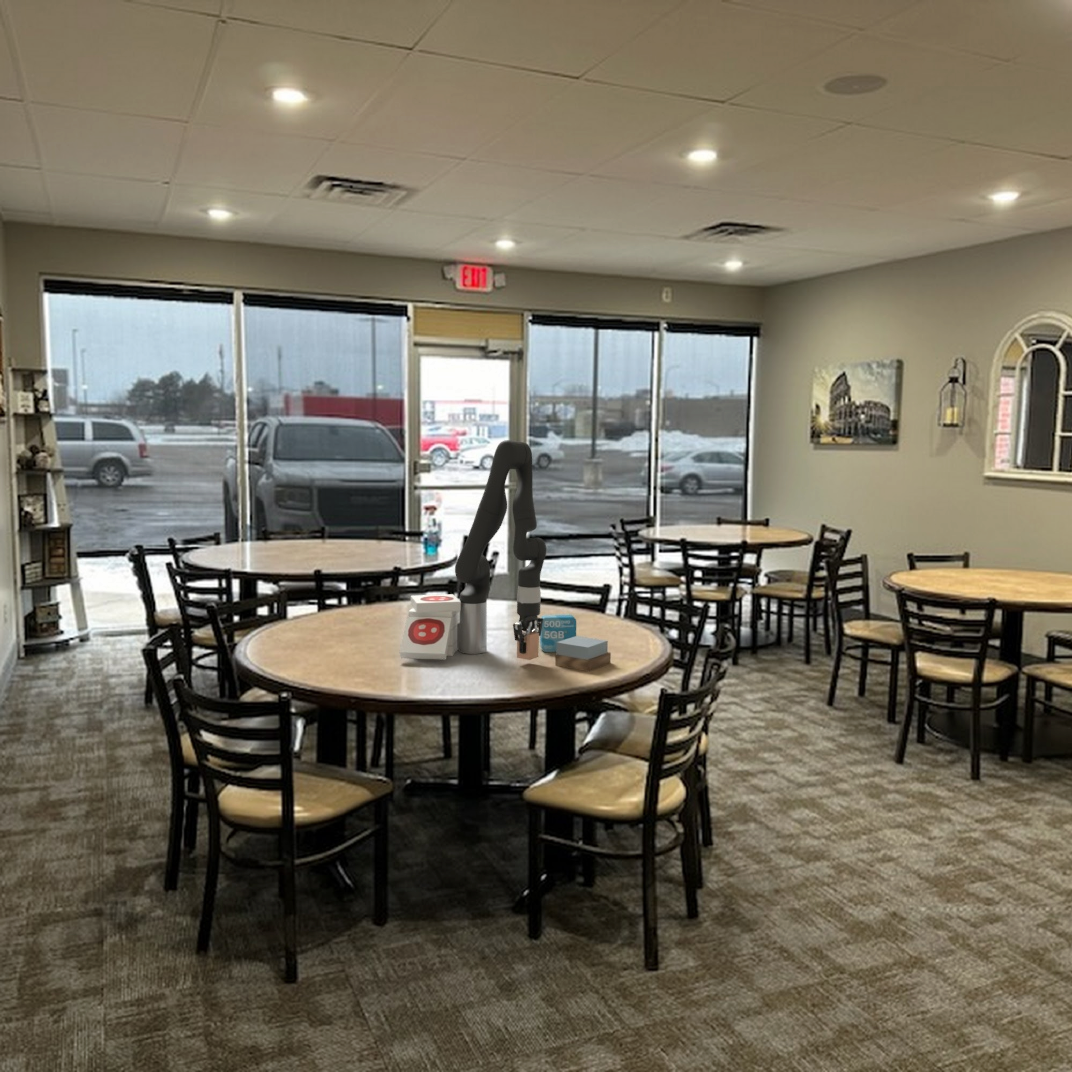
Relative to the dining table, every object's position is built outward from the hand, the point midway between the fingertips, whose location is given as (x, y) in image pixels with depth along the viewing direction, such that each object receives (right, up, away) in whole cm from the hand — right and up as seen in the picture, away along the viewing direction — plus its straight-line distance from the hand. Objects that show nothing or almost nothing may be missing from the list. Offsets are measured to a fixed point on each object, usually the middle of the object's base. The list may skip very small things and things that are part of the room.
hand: (527, 651), depth 308 cm
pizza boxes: (-32, -3, +14) cm, 35 cm away
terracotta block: (0, -2, 0) cm, 2 cm away
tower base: (+18, -5, +1) cm, 19 cm away
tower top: (+18, -1, +1) cm, 18 cm away
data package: (+10, -2, +20) cm, 23 cm away
